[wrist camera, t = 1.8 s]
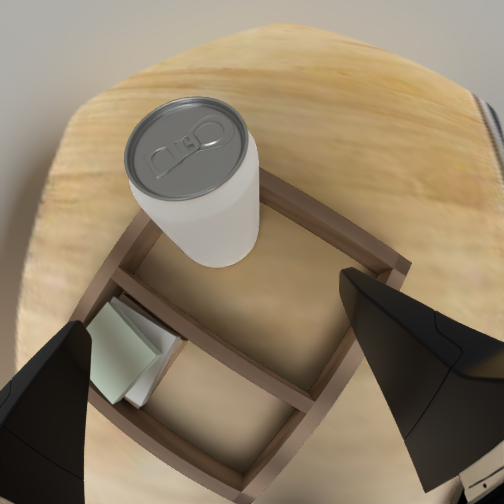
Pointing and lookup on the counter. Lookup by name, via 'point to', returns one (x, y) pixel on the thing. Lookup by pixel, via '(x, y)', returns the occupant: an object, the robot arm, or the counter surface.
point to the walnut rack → (307, 403)
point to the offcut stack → (130, 350)
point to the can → (198, 178)
